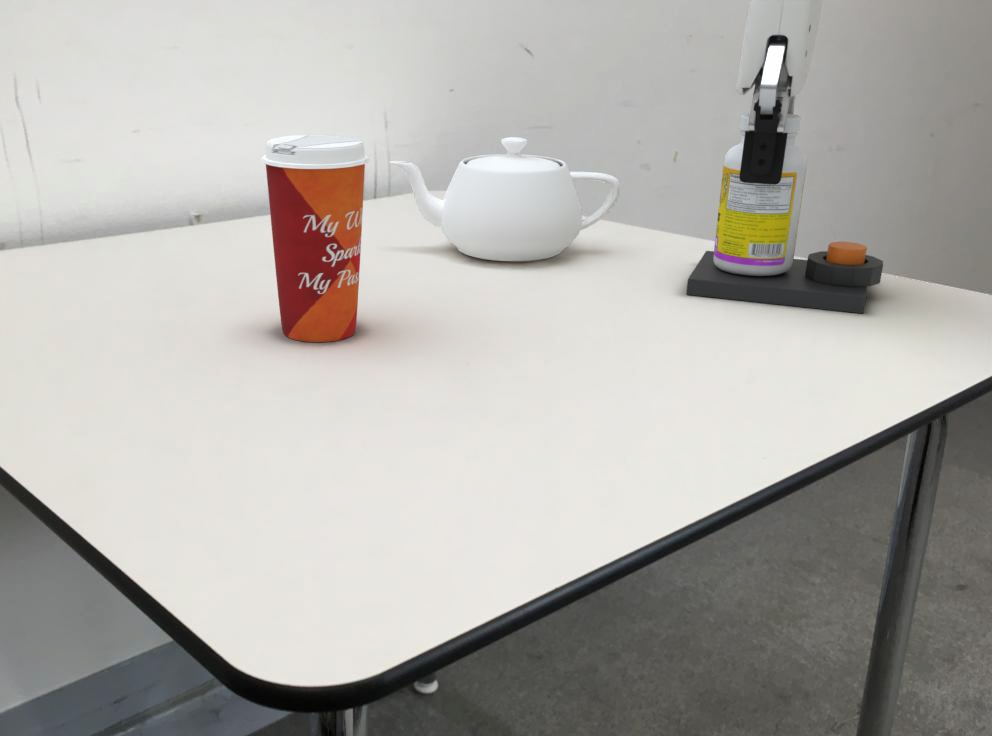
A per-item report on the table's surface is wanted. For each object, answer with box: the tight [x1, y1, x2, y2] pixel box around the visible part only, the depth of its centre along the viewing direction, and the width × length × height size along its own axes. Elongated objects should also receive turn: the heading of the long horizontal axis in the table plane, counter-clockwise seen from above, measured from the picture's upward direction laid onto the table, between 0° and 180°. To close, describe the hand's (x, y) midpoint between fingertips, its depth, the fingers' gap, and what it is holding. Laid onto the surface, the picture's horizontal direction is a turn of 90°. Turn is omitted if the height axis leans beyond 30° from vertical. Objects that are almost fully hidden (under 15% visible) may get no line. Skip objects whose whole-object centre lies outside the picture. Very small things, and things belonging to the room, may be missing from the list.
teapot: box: [388, 136, 621, 262], centre depth 104 cm, size 22×14×11 cm, turn 88°
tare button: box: [826, 241, 868, 265], centre depth 92 cm, size 3×3×2 cm
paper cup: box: [260, 134, 370, 343], centre depth 80 cm, size 8×8×14 cm
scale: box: [685, 250, 884, 314], centre depth 94 cm, size 15×11×3 cm
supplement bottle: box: [713, 112, 808, 276], centre depth 92 cm, size 7×7×13 cm
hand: (764, 173), depth 92 cm, fingers closed on supplement bottle, 6 cm apart
